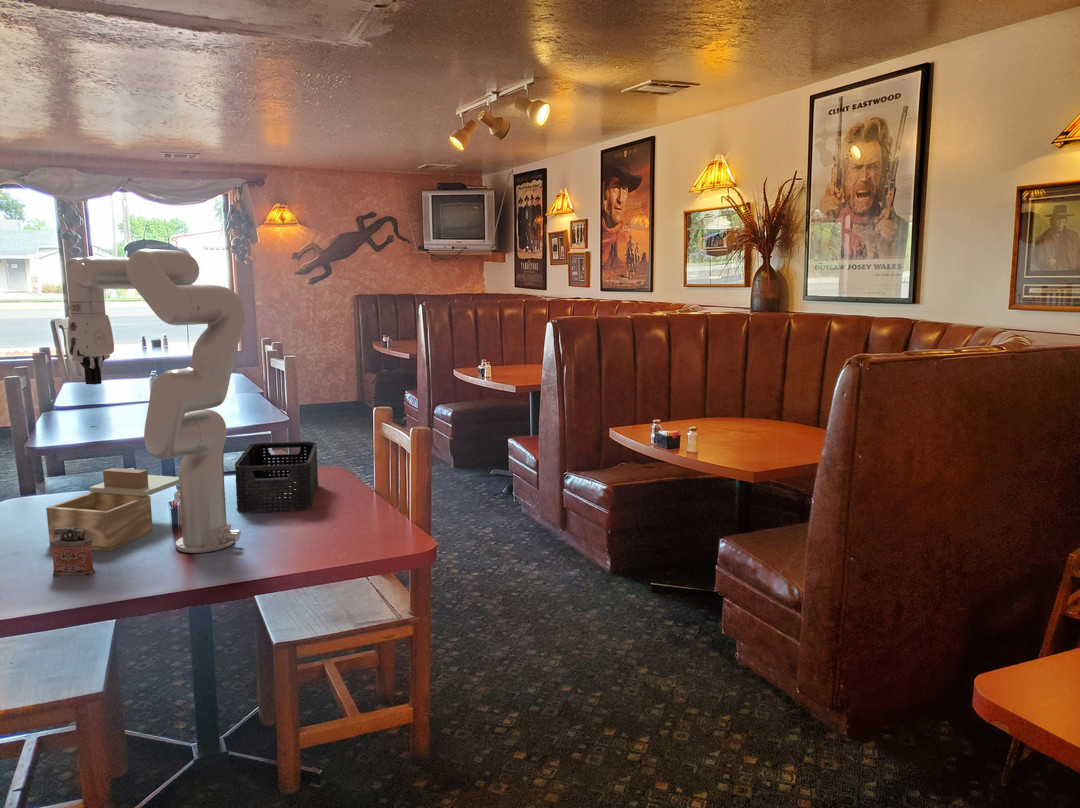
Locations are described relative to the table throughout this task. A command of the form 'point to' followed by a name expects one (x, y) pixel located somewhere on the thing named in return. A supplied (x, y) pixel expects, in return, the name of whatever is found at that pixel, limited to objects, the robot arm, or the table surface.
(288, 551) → the table surface
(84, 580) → the table surface
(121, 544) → the wooden box
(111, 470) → the lid
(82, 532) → the lighter
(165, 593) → the table surface
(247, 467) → the storage bin
